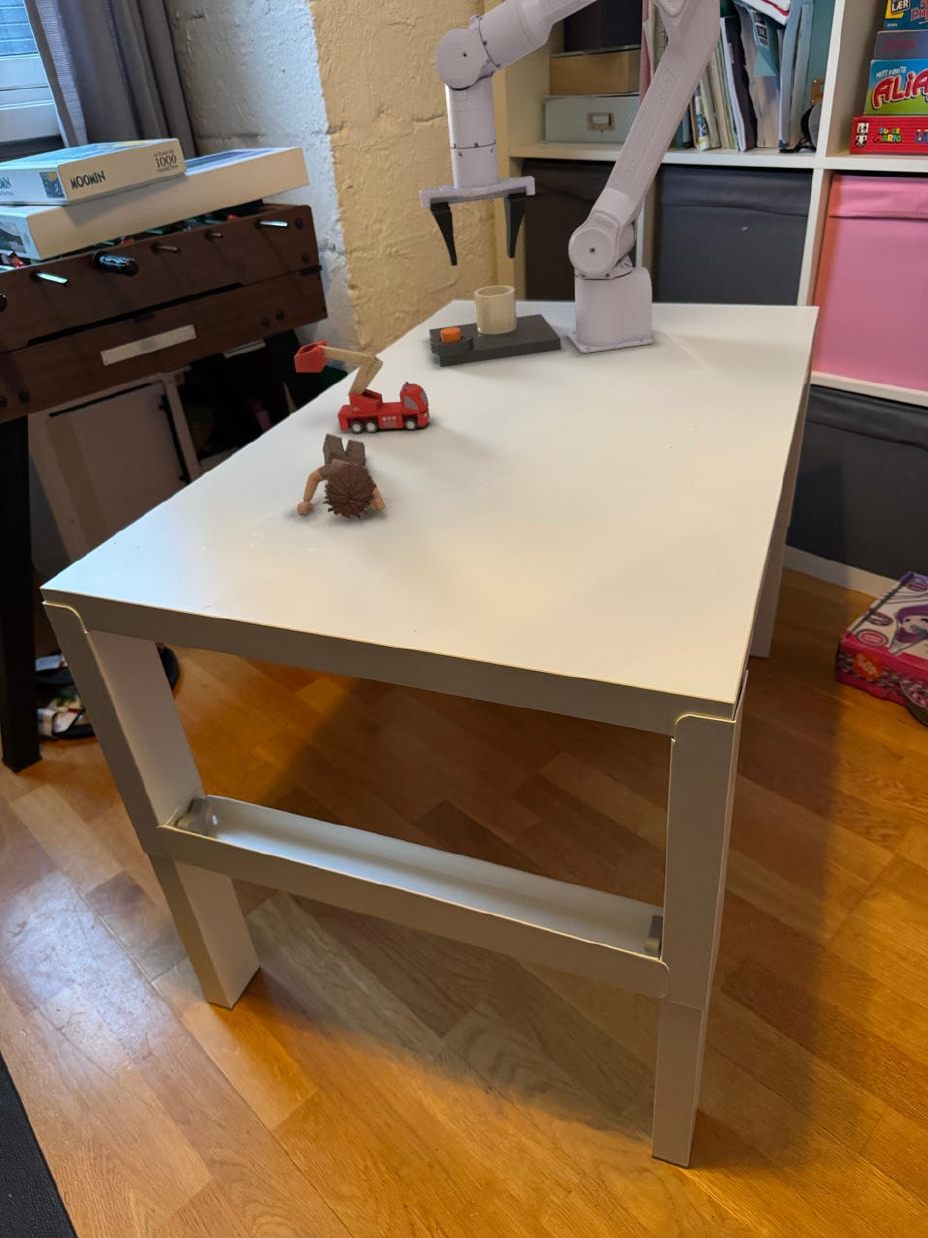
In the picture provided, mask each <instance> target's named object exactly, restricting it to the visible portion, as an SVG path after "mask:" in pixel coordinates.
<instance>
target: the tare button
mask: <svg viewBox="0 0 928 1238" xmlns="http://www.w3.org/2000/svg"><path fill="white" fill-rule="evenodd" d="M449 327H450V328H445V329H443V330H441V341H442V342H454V341H458V340H461V330H460V328H456V327H451V326H449Z"/></svg>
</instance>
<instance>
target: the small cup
mask: <svg viewBox="0 0 928 1238" xmlns="http://www.w3.org/2000/svg"><path fill="white" fill-rule="evenodd" d="M473 299H474V311H475V323H476V324H477V330H478V332H480V333H482V334H489V335H495V334H503V333H508V332H511V331H513V330H515V329H516V327H517V317H518V316H517V301H516V300H517V298H516V289H515V287H514V286H511V285H504V284H503V285H490V286H484V287H480V288H478V289H476V290H475V291H474V292H473Z"/></svg>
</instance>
